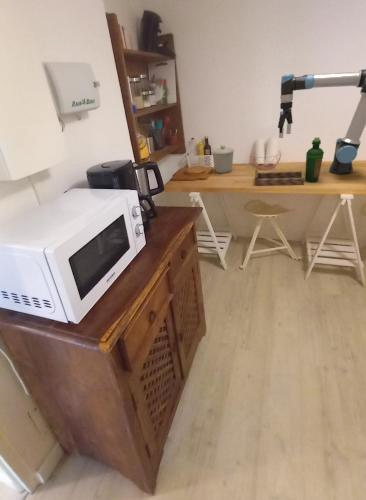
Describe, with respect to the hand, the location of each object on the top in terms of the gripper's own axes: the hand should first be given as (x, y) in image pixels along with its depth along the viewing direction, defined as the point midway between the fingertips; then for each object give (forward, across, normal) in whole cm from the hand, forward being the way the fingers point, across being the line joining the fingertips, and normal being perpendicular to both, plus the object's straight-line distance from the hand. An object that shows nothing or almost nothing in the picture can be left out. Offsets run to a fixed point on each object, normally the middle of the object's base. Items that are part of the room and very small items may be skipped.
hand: (284, 135), depth 201 cm
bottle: (+29, +3, +21) cm, 36 cm away
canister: (+27, +3, -49) cm, 56 cm away
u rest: (+28, +12, +1) cm, 31 cm away
